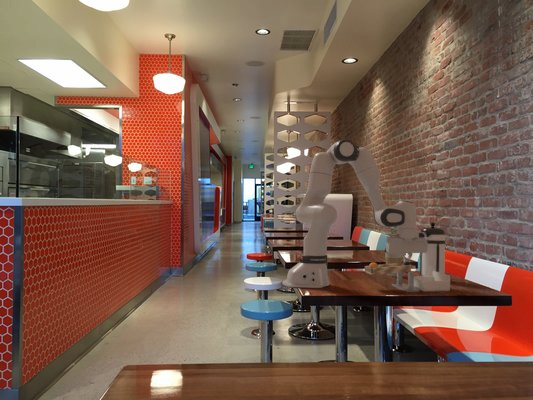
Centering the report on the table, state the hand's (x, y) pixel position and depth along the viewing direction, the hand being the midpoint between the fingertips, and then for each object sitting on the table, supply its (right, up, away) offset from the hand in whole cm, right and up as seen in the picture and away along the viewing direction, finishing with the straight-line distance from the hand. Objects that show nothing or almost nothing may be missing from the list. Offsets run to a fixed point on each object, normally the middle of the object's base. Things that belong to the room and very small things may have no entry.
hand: (406, 262), depth 203 cm
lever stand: (-4, -11, -10) cm, 15 cm away
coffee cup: (+1, -11, +25) cm, 28 cm away
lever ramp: (-10, -4, -6) cm, 12 cm away
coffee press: (+19, -12, +16) cm, 27 cm away
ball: (-19, 0, -12) cm, 23 cm away
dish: (+8, -11, -8) cm, 16 cm away
